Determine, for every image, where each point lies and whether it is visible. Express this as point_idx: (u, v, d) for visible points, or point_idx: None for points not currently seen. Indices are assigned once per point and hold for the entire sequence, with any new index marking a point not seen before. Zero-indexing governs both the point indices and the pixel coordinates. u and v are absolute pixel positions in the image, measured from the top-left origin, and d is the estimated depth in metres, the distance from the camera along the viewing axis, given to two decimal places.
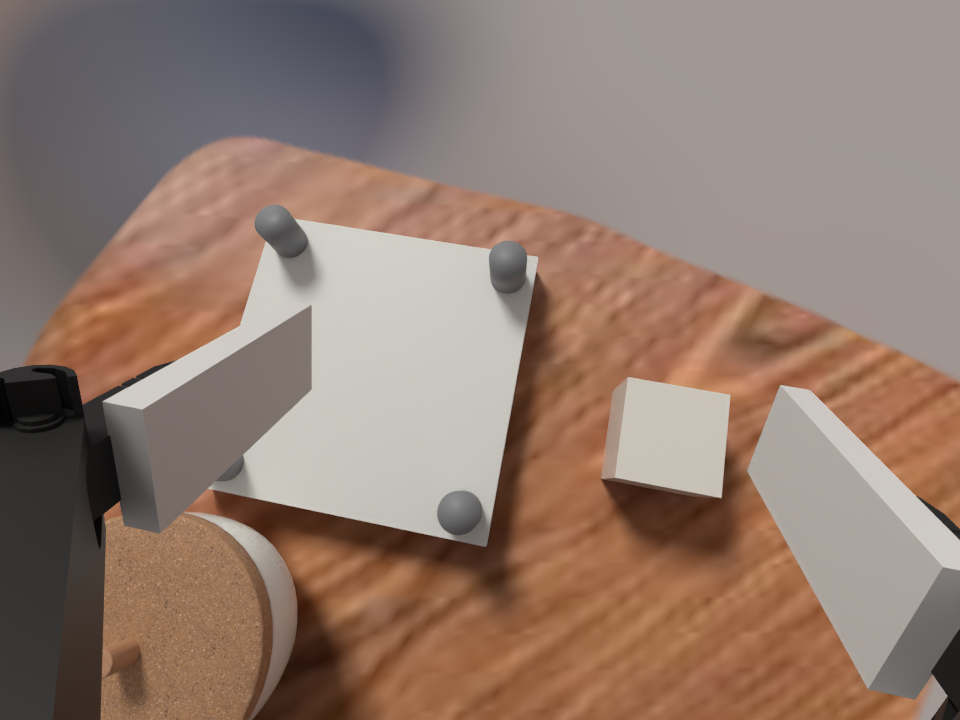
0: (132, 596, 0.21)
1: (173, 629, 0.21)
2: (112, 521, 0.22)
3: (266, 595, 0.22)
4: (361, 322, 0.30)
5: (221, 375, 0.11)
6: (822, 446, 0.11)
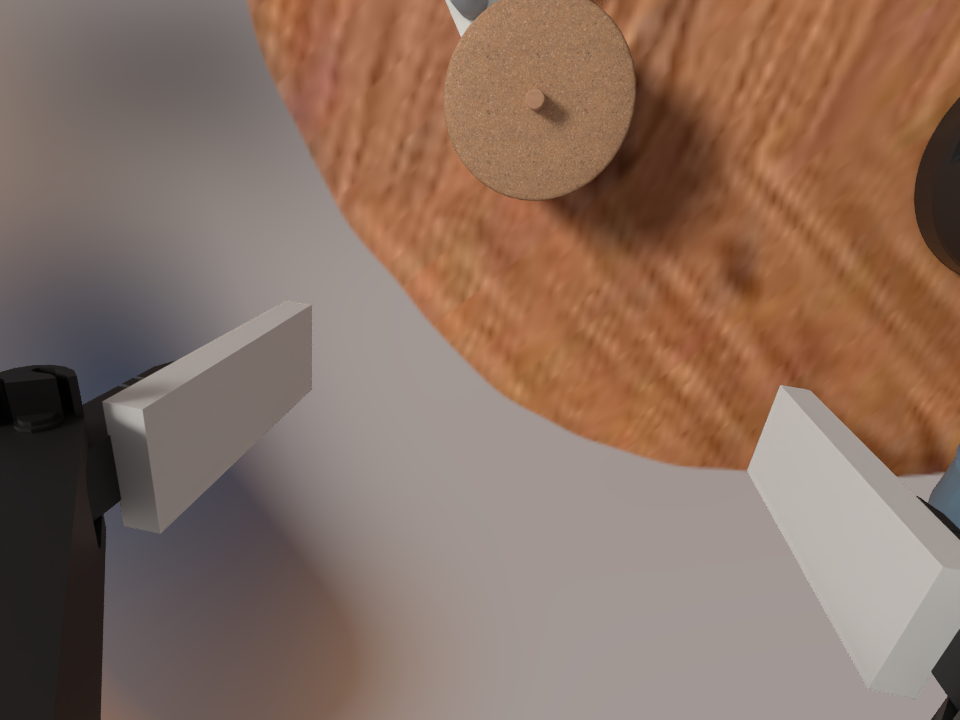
0: (513, 69, 0.29)
1: (554, 64, 0.28)
2: (461, 41, 0.29)
3: None
4: None
5: (221, 375, 0.11)
6: (822, 446, 0.11)
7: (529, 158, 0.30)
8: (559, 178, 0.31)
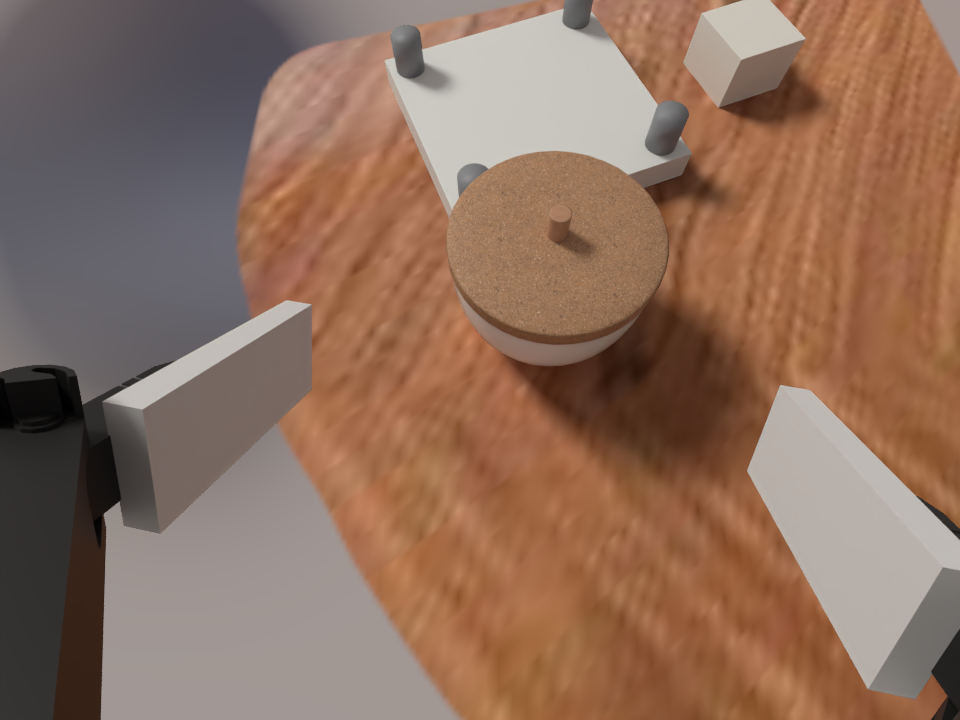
0: (530, 204, 0.26)
1: (576, 204, 0.26)
2: (474, 181, 0.27)
3: None
4: (501, 85, 0.37)
5: (221, 375, 0.11)
6: (822, 446, 0.11)
7: (549, 286, 0.24)
8: (587, 311, 0.24)
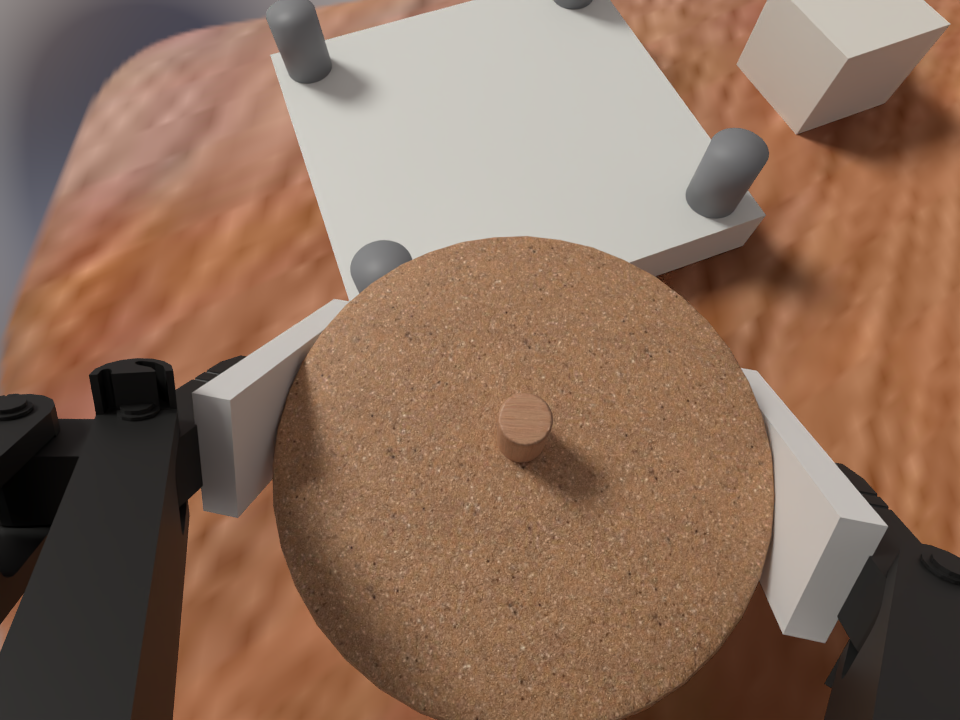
0: (465, 364, 0.12)
1: (565, 365, 0.12)
2: (352, 302, 0.13)
3: None
4: (451, 96, 0.23)
5: (288, 369, 0.12)
6: None
7: (496, 590, 0.10)
8: (588, 665, 0.10)
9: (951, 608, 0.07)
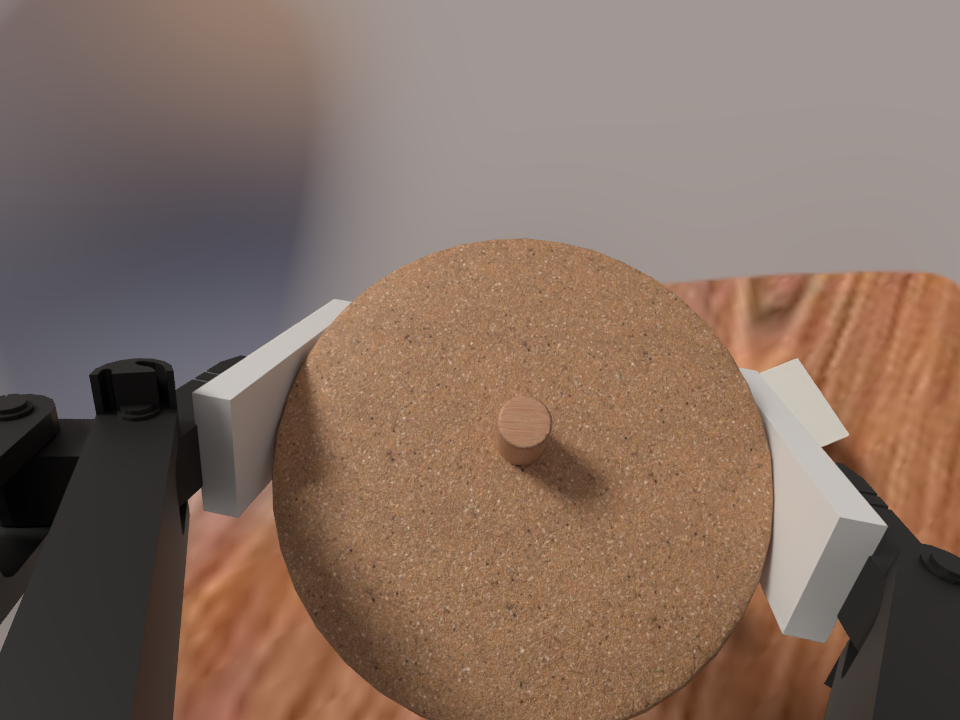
0: (465, 367, 0.12)
1: (564, 368, 0.12)
2: (351, 305, 0.13)
3: None
4: None
5: (288, 369, 0.12)
6: None
7: (495, 592, 0.10)
8: (588, 668, 0.10)
9: (951, 608, 0.07)
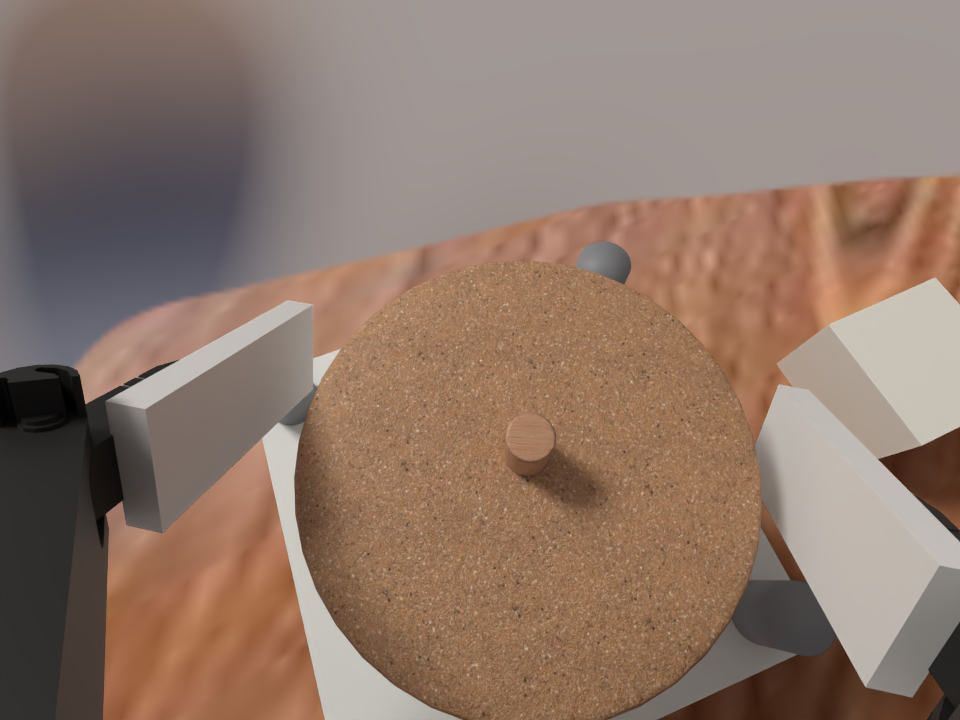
0: (474, 383, 0.13)
1: (567, 385, 0.13)
2: (368, 323, 0.13)
3: None
4: None
5: (223, 375, 0.11)
6: (820, 445, 0.11)
7: (502, 595, 0.11)
8: (586, 665, 0.10)
9: None
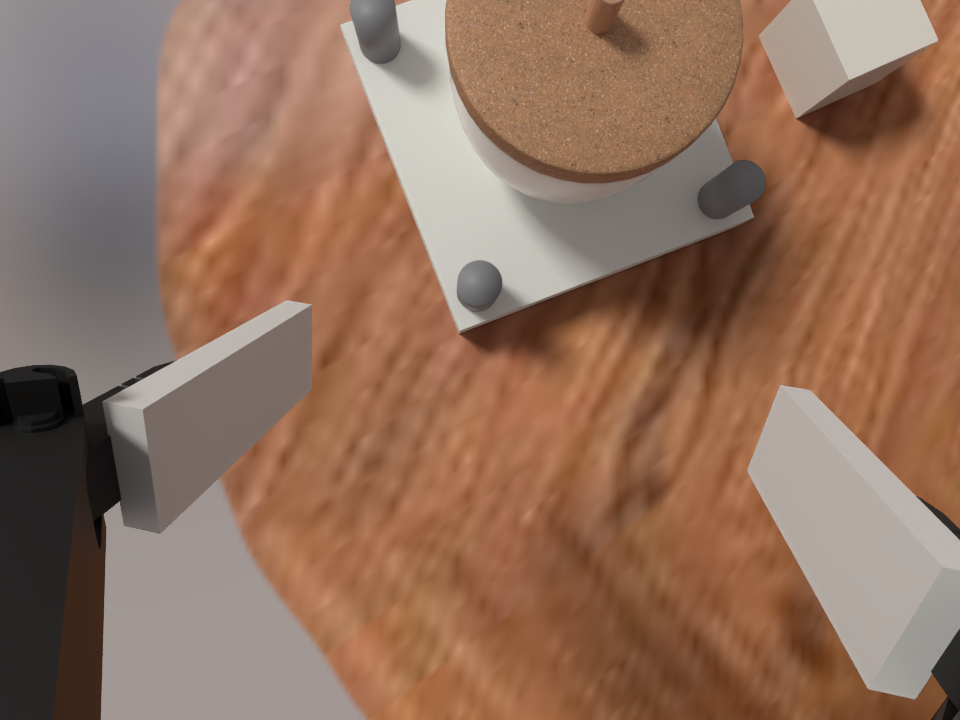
0: None
1: None
2: None
3: None
4: None
5: (221, 375, 0.11)
6: (822, 446, 0.11)
7: (583, 102, 0.18)
8: (630, 140, 0.18)
9: None
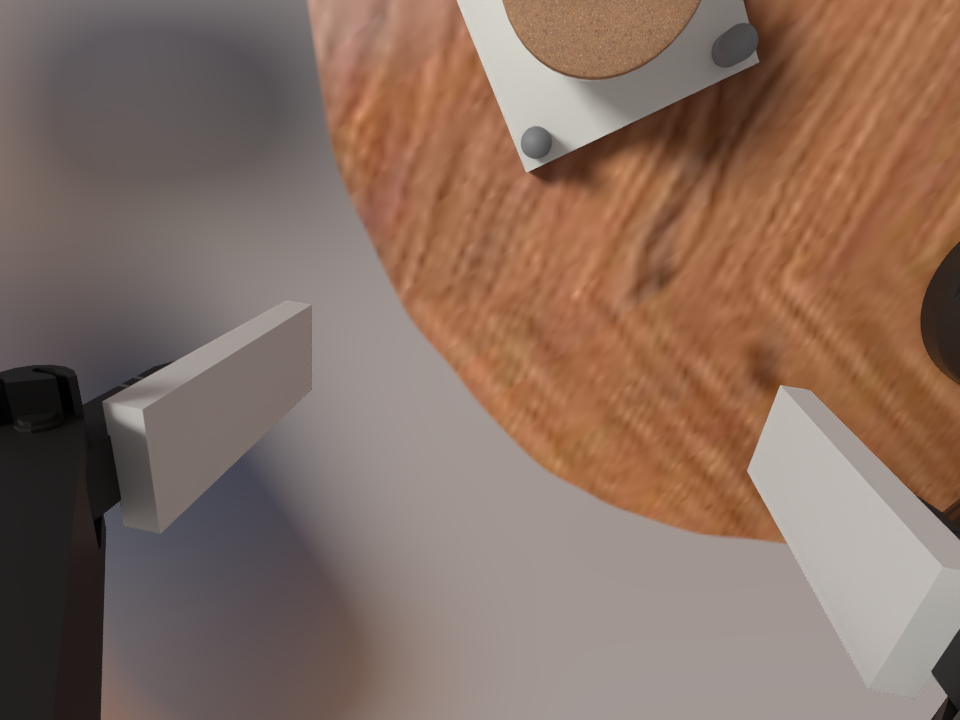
0: None
1: None
2: None
3: None
4: None
5: (221, 375, 0.11)
6: (822, 446, 0.11)
7: (591, 26, 0.27)
8: (623, 51, 0.28)
9: None
